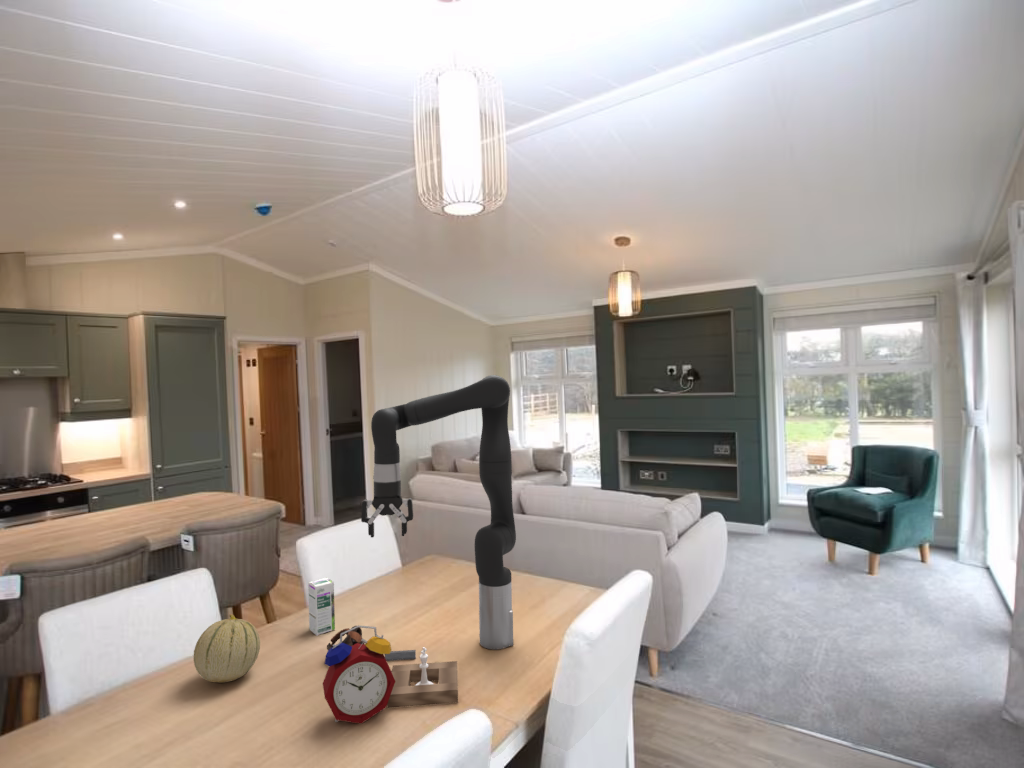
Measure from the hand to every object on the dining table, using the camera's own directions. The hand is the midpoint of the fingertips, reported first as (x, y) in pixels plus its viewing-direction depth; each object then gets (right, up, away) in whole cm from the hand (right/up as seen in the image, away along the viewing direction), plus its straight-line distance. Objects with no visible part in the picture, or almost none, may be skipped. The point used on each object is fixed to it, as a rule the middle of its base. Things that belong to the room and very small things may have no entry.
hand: (387, 536), depth 154 cm
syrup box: (-22, -31, +9) cm, 39 cm away
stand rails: (+6, -30, -14) cm, 34 cm away
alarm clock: (+1, -30, -33) cm, 45 cm away
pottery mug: (-9, -31, -7) cm, 33 cm away
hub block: (+14, -30, -24) cm, 41 cm away
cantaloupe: (-36, -31, -18) cm, 51 cm away
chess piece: (+14, -30, -24) cm, 41 cm away
